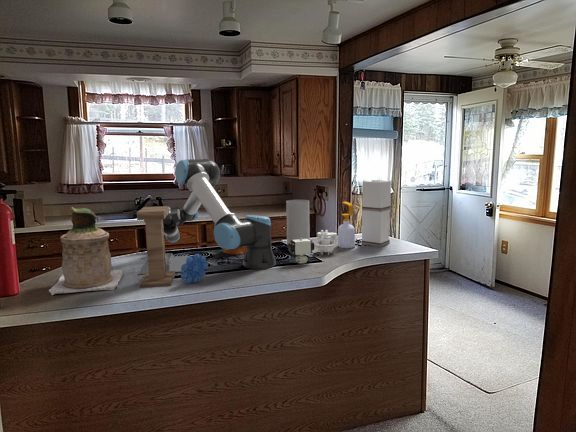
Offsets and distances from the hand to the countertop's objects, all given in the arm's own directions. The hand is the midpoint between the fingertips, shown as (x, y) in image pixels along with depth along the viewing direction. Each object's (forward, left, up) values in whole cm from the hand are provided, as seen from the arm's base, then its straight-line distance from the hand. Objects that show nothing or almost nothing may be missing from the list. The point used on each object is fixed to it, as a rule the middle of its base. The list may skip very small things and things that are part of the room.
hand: (163, 212), depth 197 cm
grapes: (-27, +23, -25) cm, 44 cm away
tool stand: (-11, +25, -25) cm, 37 cm away
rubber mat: (-1, +3, -25) cm, 25 cm away
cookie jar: (+14, +35, -25) cm, 45 cm away
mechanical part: (-71, -35, -25) cm, 83 cm away
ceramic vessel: (-25, -32, -25) cm, 47 cm away
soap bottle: (-79, -52, -25) cm, 98 cm away
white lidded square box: (-94, -62, -25) cm, 115 cm away
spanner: (-1, +3, -24) cm, 24 cm away
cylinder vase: (-53, -48, -25) cm, 76 cm away
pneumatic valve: (-63, -15, -25) cm, 69 cm away
